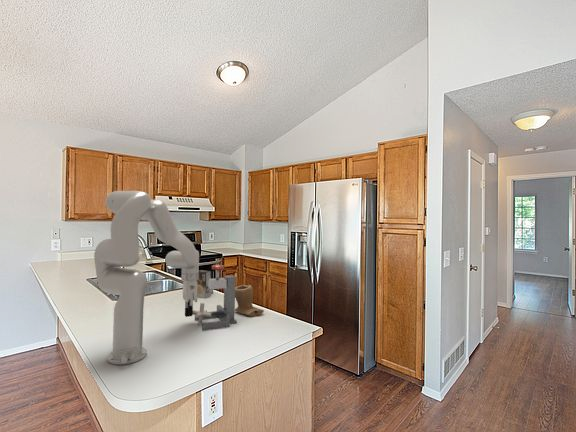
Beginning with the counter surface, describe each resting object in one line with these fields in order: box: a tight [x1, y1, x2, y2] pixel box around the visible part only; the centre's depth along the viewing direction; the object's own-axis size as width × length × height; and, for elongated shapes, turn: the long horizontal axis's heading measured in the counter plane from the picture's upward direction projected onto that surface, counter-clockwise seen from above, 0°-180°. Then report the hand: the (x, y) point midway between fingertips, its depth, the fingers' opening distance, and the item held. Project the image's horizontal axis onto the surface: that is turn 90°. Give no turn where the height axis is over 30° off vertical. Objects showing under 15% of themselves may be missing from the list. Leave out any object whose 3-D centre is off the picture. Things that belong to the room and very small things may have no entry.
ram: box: [208, 264, 226, 295], centre depth 149 cm, size 6×7×13 cm
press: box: [194, 274, 238, 332], centre depth 149 cm, size 16×17×22 cm
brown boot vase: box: [235, 284, 265, 317], centre depth 164 cm, size 15×12×15 cm
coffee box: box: [197, 269, 212, 299], centre depth 196 cm, size 9×6×16 cm
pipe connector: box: [192, 302, 212, 326], centre depth 146 cm, size 10×10×10 cm
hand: (188, 315), depth 143 cm, fingers closed
